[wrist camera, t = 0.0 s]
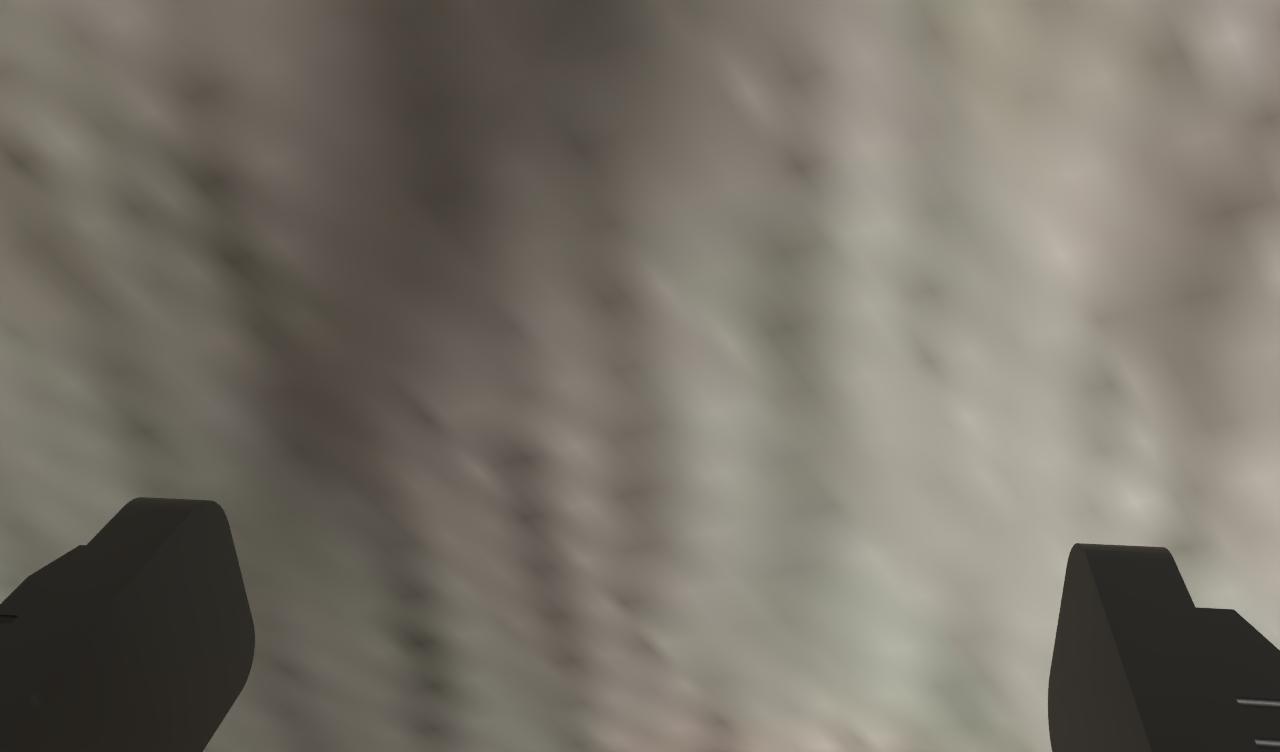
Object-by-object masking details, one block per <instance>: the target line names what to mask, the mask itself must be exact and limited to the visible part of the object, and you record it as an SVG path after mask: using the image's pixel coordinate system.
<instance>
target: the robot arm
mask: <svg viewBox="0 0 1280 752" xmlns="http://www.w3.org/2000/svg"><path fill="white" fill-rule="evenodd" d="M254 646H255V633H254V625H253V620H252V616H251V612H250V608H249V604H248V600H247V596H246V592H245V588H244V583H243V579H242V575H241V571H240V567H239V563H238V559H237V555H236V551H235V547H234V543H233V539H232V535H231V531H230V527H229V523H228V520H227V517H226V515H225V513H224V511H223V509H222V508H221V506H220V505H218V504H217V503H216V502H214V501H207V500H186V499H164V498H143V497H140V498H136V499H133V500H132V501H130V502H129V503H127V504H126V505H125V506H124V507H123V508H122V509H121V510H120V511H119V512H118V513H117V514H116V515H115V516H114V517H113V518H112V519H111V520H110V521H109V523H108V524H107V525H106V526H105V527H104V528H103V529H102V530H101V531H100V532H99V533H98V534H97V535H96V536H95V537H94V538H93V539H92V540H91V541H90V542H89V543H88V544H87V545H80V546H78V547H76V548H75V549H73V550H71V551H70V552H68V553H66V554H65V555H63V556H61V557H60V558H58V559H56V560H55V561H53V562H52V563H50V564H48V565H47V566H45V567H43V568H42V569H40V570H38V571H37V572H35V573H33V574H32V575H30V576H28V577H27V578H26V579H25V580H24V581H23V582H22V583H21V584H20V585H19V586H18V587H17V588H16V589H15V590H14V591H13V592H12V593H11V594H10V595H9V596H8V597H7V598H6V599H5V600H4V601H3V602H2V603H1V604H0V752H203V750H204V748H205V747H206V745H207V744H208V742H209V741H210V739H211V738H212V736H213V734H214V733H215V731H216V730H217V728H218V727H219V725H220V724H221V722H222V720H223V719H224V717H225V716H226V714H227V713H228V711H229V709H230V708H231V706H232V705H233V703H234V702H235V700H236V699H237V697H238V695H239V694H240V692H241V691H242V689H243V687H244V685H245V683H246V681H247V678H248V675H249V672H250V669H251V665H252V661H253V655H254ZM1048 720H1049V732H1050V740H1051V747H1052V752H1280V650H1278V649H1277V648H1276V647H1275V646H1274V645H1273V644H1272V643H1271V642H1269V641H1268V640H1267V639H1266V638H1265V637H1264V636H1263V635H1262V634H1261V633H1259V632H1258V631H1257V630H1256V629H1255V628H1254V627H1253V626H1252V625H1250V624H1249V623H1248V622H1247V621H1246V620H1245V619H1244V618H1243V617H1241V616H1240V615H1239V614H1238V613H1237V612H1236V611H1235V610H1231V609H1213V608H1195V606H1194V603H1193V601H1192V599H1191V597H1190V594H1189V592H1188V590H1187V588H1186V585H1185V583H1184V581H1183V579H1182V576H1181V574H1180V572H1179V570H1178V567H1177V565H1176V563H1175V561H1174V559H1173V557H1172V555H1171V553H1170V552H1169V551H1168V549H1166V548H1164V547H1144V546H1122V545H1101V544H1080V543H1076V544H1075V545H1074V546H1073V547H1072V549H1071V552H1070V555H1069V558H1068V563H1067V568H1066V575H1065V581H1064V587H1063V594H1062V600H1061V607H1060V613H1059V619H1058V626H1057V632H1056V639H1055V645H1054V651H1053V658H1052V664H1051V670H1050V678H1049V688H1048Z"/></svg>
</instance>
